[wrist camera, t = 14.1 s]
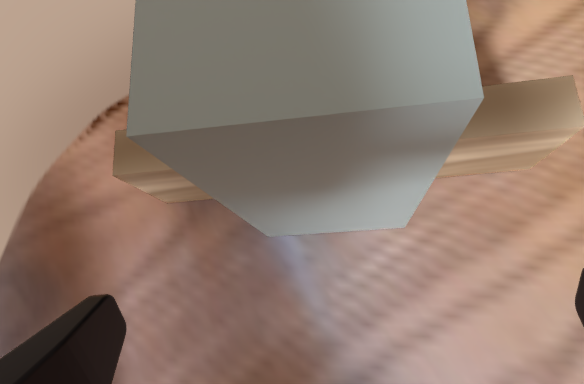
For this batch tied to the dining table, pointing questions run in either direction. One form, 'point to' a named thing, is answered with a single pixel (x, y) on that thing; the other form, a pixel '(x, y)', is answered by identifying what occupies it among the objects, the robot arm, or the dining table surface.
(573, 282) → the dining table surface
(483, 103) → the slotted board
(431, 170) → the pale grey upright block
